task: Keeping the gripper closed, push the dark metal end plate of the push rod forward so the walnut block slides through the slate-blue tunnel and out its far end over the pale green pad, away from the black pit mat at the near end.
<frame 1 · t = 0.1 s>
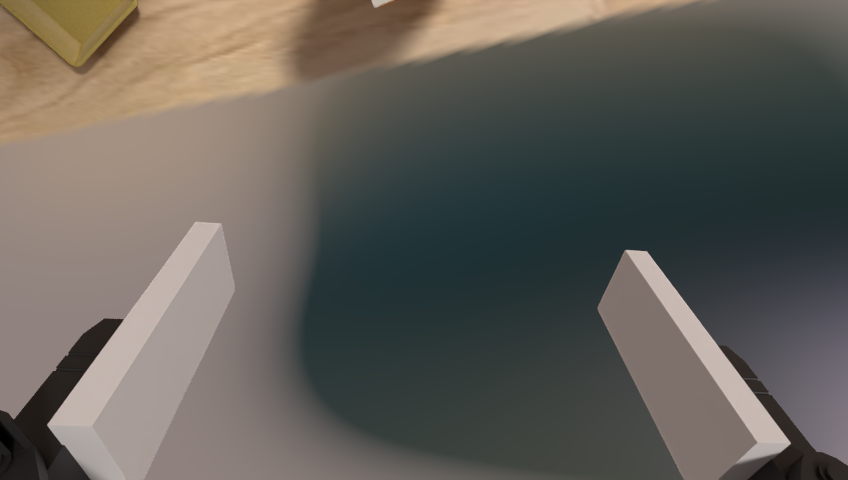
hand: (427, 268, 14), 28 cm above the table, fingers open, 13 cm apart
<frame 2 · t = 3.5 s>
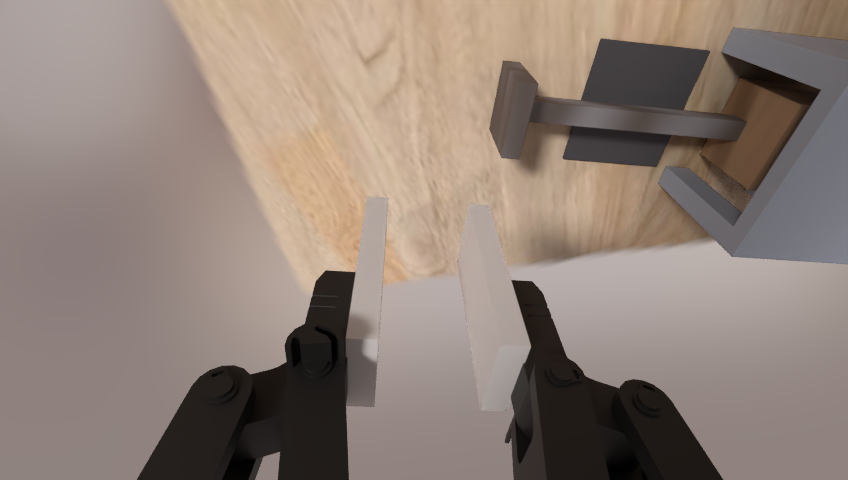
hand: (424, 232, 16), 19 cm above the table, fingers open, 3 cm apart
push rod: (667, 125, 30), point 3 cm above the table, slide at 0.0 cm
pit mat: (630, 107, 32), on the table
tunnel: (751, 119, 33), on the table
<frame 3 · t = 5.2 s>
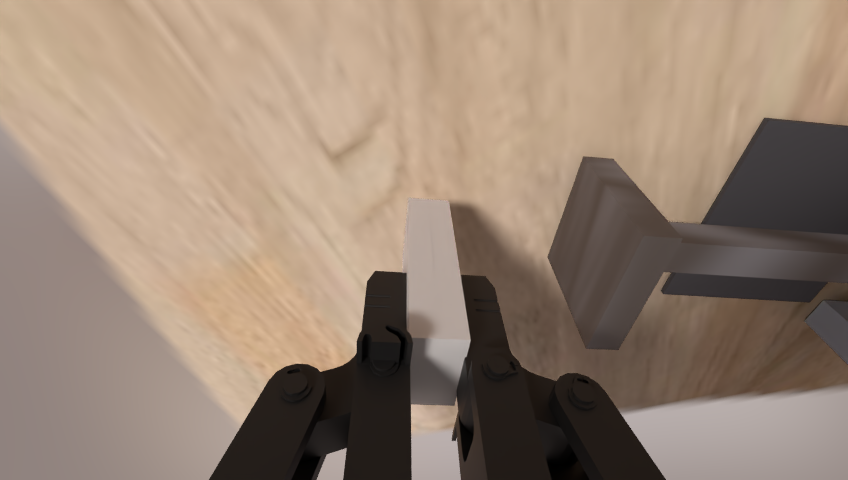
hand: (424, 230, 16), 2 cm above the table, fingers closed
pit mat: (788, 222, 19), on the table
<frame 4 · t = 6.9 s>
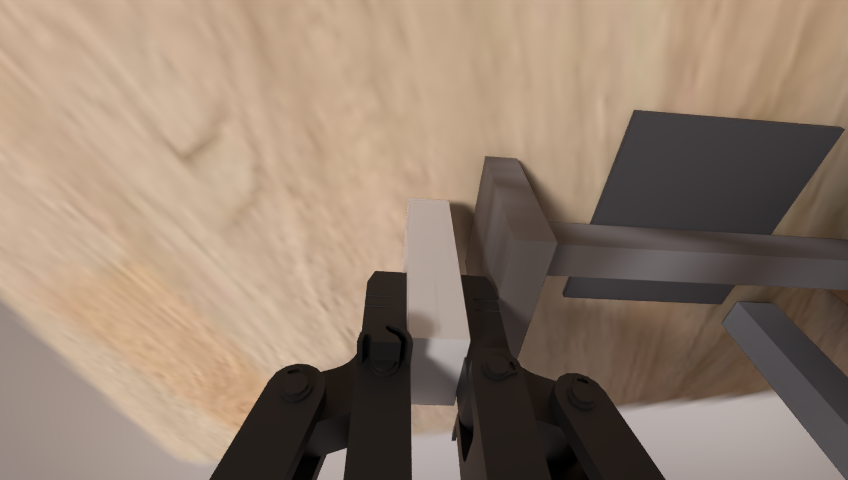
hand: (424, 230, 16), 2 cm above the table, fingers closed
push rod: (801, 276, 16), point 3 cm above the table, slide at 1.5 cm, touching gripper
pit mat: (683, 221, 18), on the table
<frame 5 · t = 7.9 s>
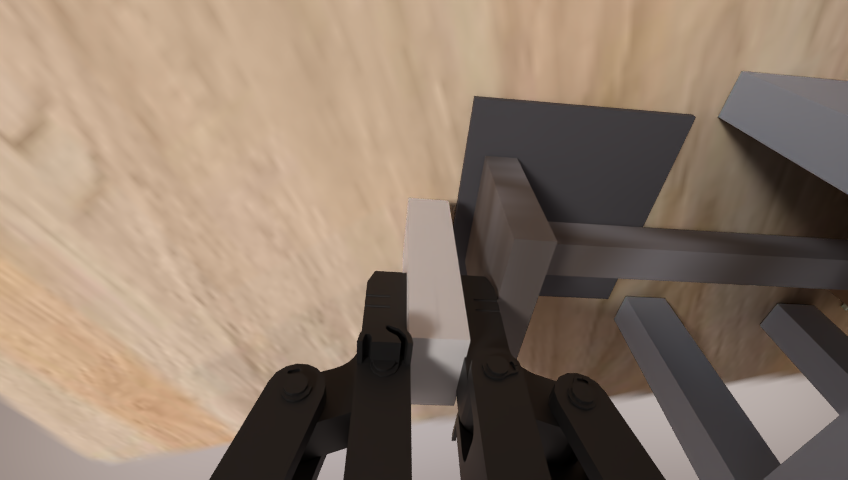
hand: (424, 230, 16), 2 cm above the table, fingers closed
push rod: (800, 276, 16), point 3 cm above the table, slide at 7.3 cm, touching gripper
pit mat: (551, 212, 18), on the table
tunnel: (774, 226, 18), on the table
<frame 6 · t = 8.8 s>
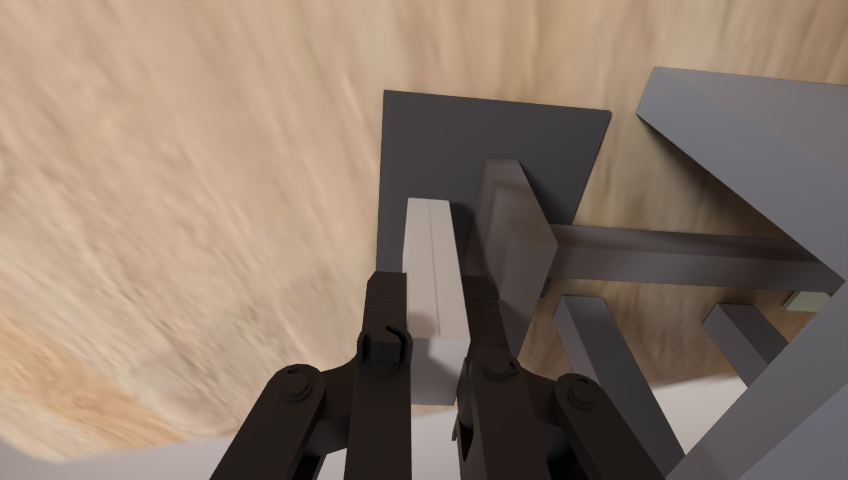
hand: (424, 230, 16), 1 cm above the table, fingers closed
push rod: (799, 280, 16), point 3 cm above the table, slide at 10.5 cm, touching gripper
pit mat: (476, 209, 17), on the table
tunnel: (704, 225, 18), on the table
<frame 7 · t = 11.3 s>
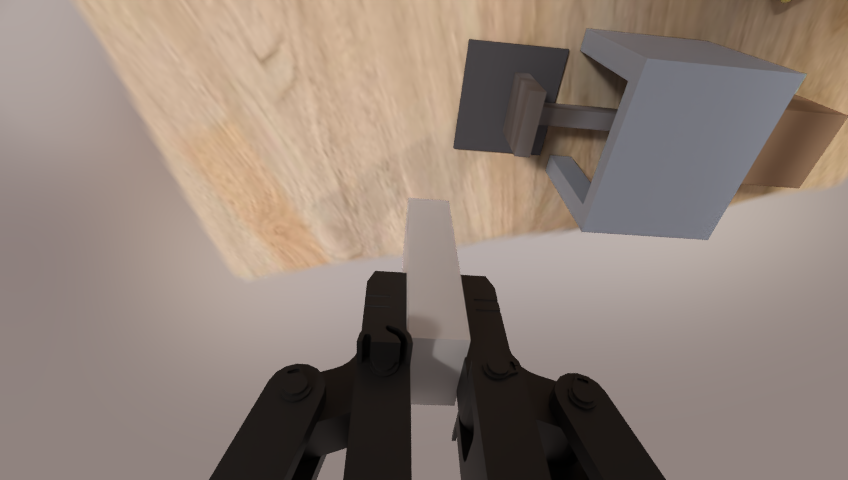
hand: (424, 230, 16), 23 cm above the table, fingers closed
push rod: (658, 127, 34), point 3 cm above the table, slide at 10.6 cm
pit mat: (507, 101, 36), on the table
tunnel: (619, 111, 37), on the table
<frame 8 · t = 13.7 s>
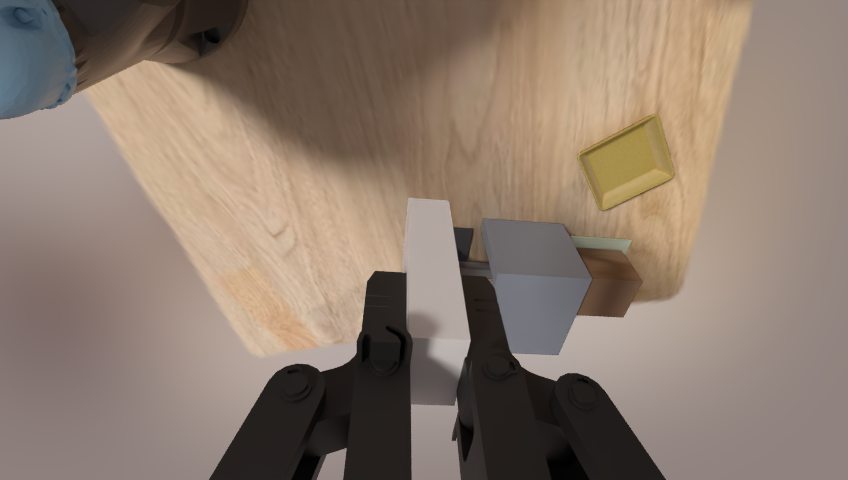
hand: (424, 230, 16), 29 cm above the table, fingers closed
push rod: (532, 278, 52), point 3 cm above the table, slide at 10.6 cm
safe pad: (589, 264, 56), on the table
pit mat: (436, 255, 54), on the table
tunnel: (512, 260, 55), on the table
yellow tray: (618, 157, 48), on the table
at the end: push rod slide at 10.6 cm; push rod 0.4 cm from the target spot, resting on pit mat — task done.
